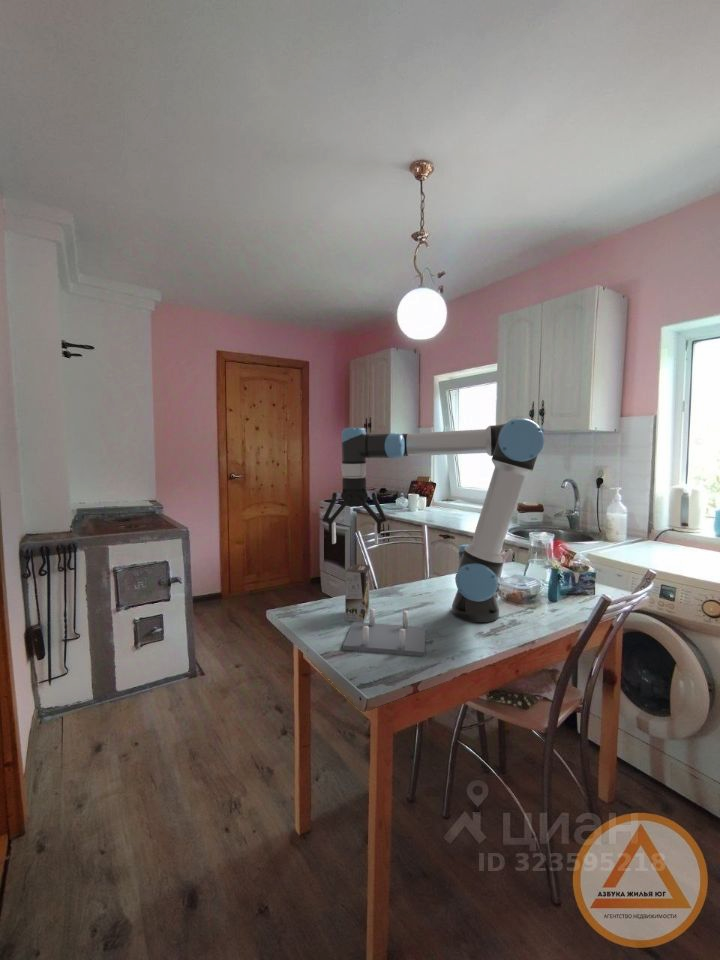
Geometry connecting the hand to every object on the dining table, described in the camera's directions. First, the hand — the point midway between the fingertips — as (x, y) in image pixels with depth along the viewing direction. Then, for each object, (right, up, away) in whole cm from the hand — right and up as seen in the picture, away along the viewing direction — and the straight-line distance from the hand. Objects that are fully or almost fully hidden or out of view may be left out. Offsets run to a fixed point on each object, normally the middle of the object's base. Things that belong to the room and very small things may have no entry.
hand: (355, 543), depth 141 cm
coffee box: (+1, -24, +3) cm, 24 cm away
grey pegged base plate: (+9, -26, -14) cm, 31 cm away
